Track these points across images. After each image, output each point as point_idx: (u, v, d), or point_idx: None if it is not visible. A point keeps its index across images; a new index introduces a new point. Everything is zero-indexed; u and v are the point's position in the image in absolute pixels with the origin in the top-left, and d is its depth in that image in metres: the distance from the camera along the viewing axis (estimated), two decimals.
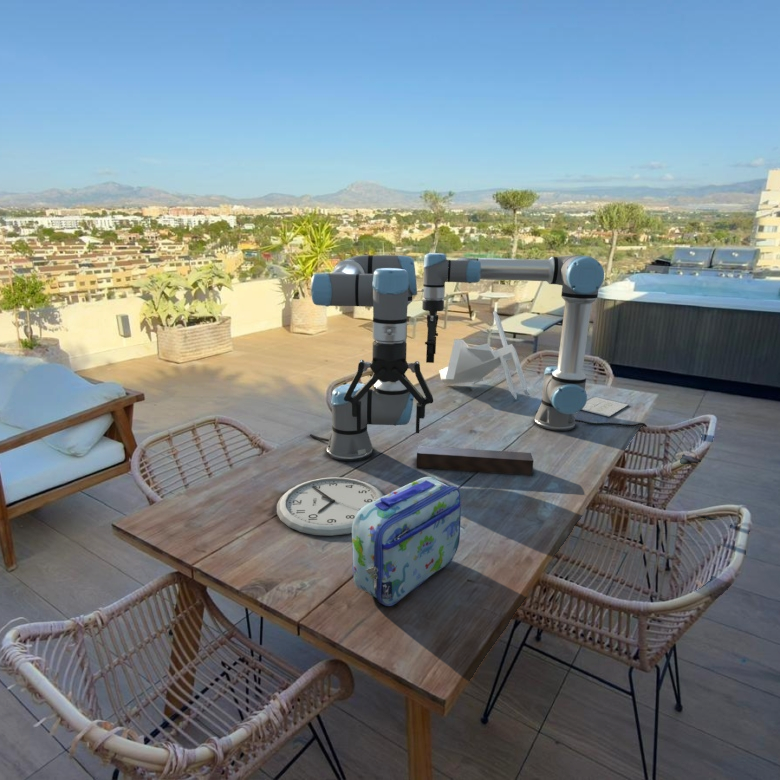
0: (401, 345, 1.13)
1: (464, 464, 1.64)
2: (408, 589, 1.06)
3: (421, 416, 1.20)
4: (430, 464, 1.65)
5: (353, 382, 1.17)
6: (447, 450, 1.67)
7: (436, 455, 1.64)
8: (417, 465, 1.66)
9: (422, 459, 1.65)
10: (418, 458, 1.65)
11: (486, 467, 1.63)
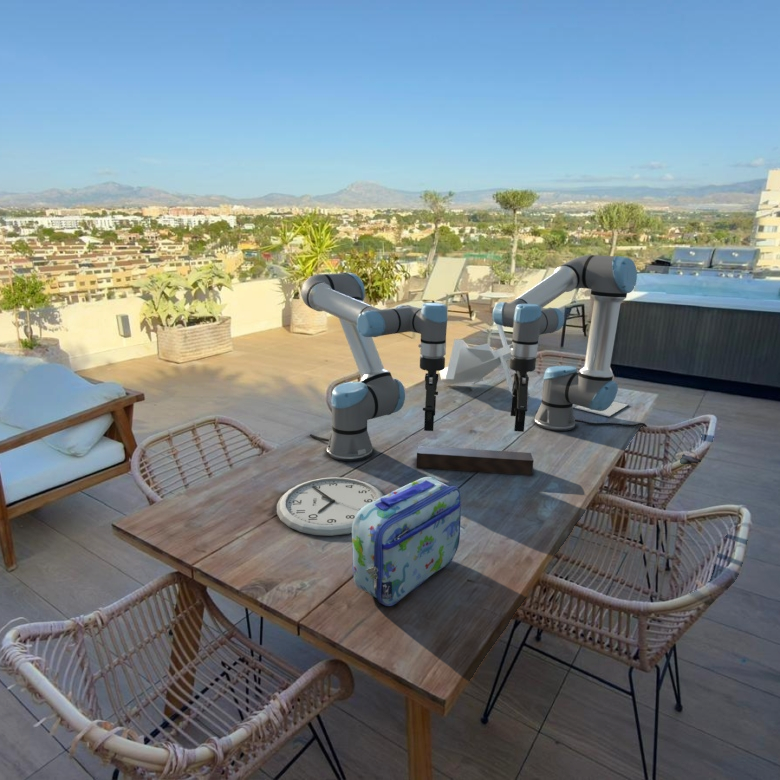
0: (423, 359, 1.54)
1: (464, 464, 1.64)
2: (408, 589, 1.06)
3: (426, 419, 1.54)
4: (430, 464, 1.65)
5: None
6: (447, 450, 1.67)
7: (436, 455, 1.64)
8: (417, 465, 1.66)
9: (422, 459, 1.65)
10: (418, 458, 1.65)
11: (486, 467, 1.63)
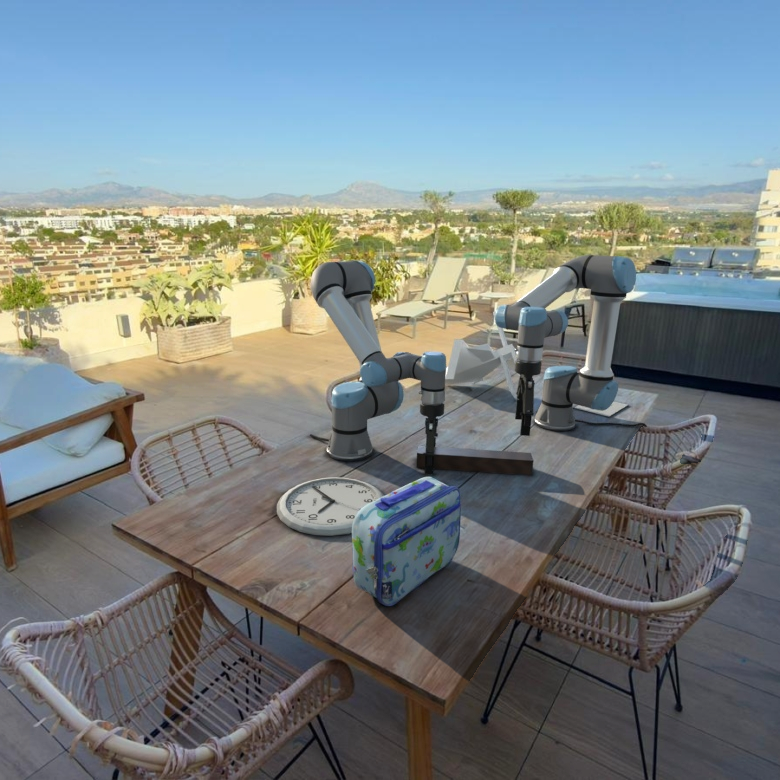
0: (423, 405, 1.60)
1: (464, 464, 1.64)
2: (408, 589, 1.06)
3: (427, 463, 1.60)
4: None
5: None
6: (447, 450, 1.67)
7: (436, 455, 1.64)
8: (417, 465, 1.66)
9: (422, 459, 1.65)
10: (418, 458, 1.65)
11: (486, 467, 1.63)
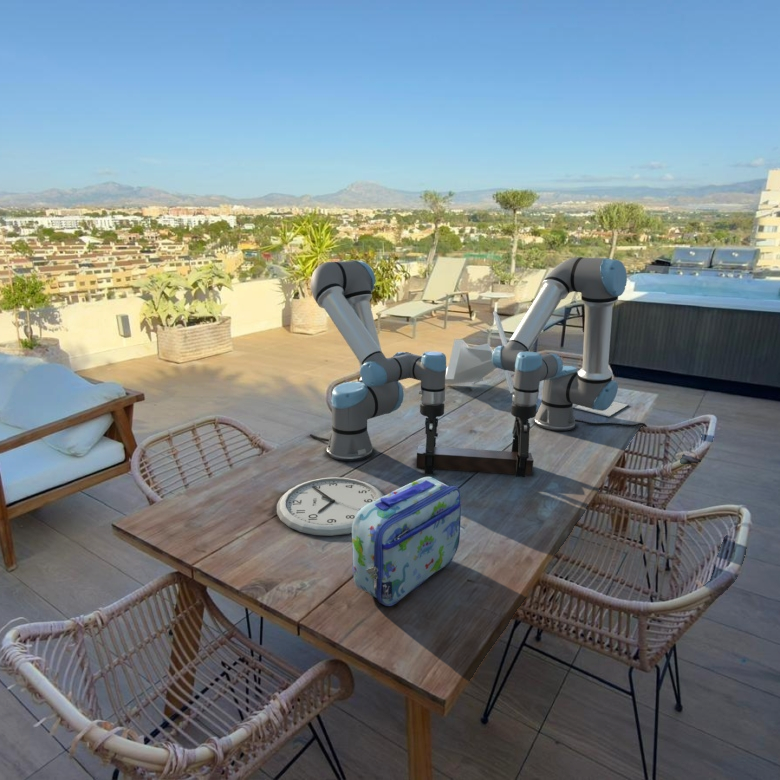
0: (424, 405, 1.60)
1: (464, 464, 1.64)
2: (408, 589, 1.06)
3: (427, 463, 1.60)
4: None
5: None
6: (447, 450, 1.67)
7: (436, 455, 1.64)
8: (417, 465, 1.66)
9: (422, 459, 1.65)
10: (418, 458, 1.65)
11: (486, 467, 1.63)
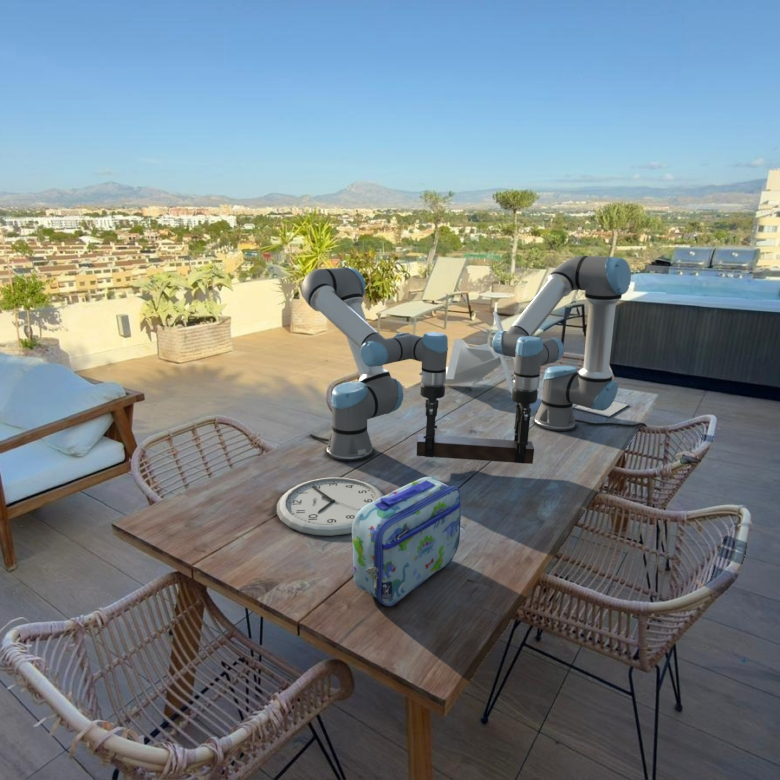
0: (424, 387, 1.58)
1: (465, 453, 1.63)
2: (408, 589, 1.06)
3: (427, 446, 1.63)
4: None
5: None
6: (447, 438, 1.66)
7: (436, 444, 1.63)
8: (417, 453, 1.65)
9: (422, 448, 1.64)
10: (418, 446, 1.64)
11: (486, 456, 1.62)
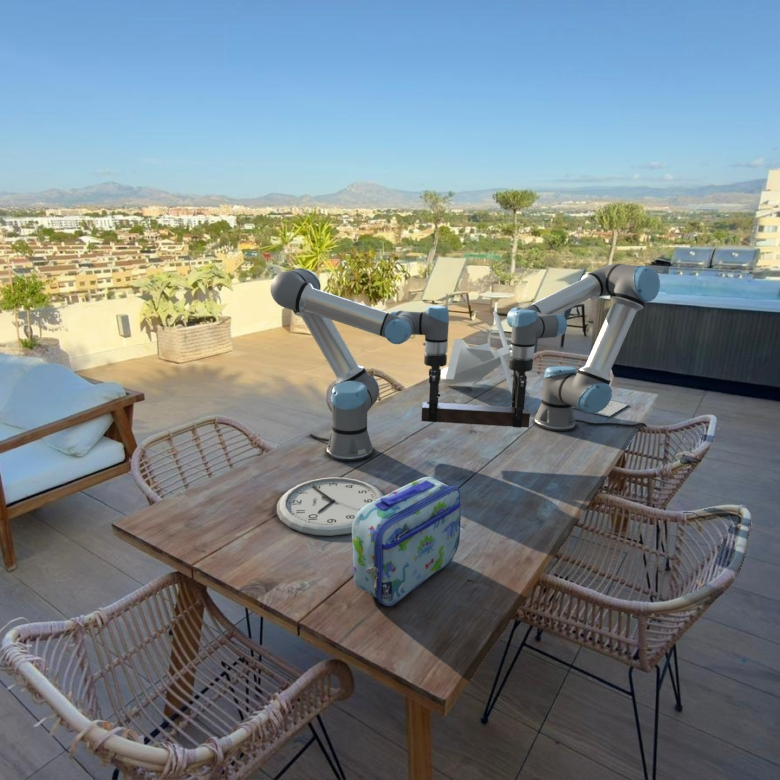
0: (427, 356, 1.72)
1: (466, 418, 1.77)
2: (408, 589, 1.06)
3: (430, 411, 1.76)
4: None
5: None
6: (450, 405, 1.80)
7: (440, 409, 1.77)
8: (422, 419, 1.78)
9: (427, 413, 1.78)
10: (423, 412, 1.78)
11: (486, 420, 1.76)
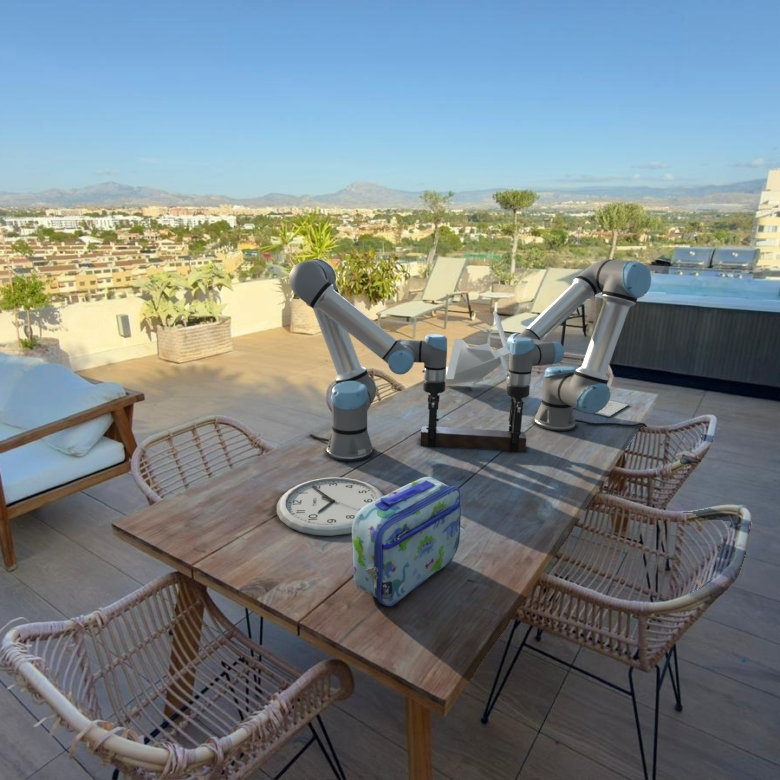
0: (426, 383, 1.77)
1: (464, 442, 1.81)
2: (408, 589, 1.06)
3: (429, 436, 1.81)
4: None
5: None
6: (448, 429, 1.84)
7: (438, 434, 1.81)
8: (421, 443, 1.83)
9: (425, 438, 1.82)
10: (422, 436, 1.82)
11: (483, 445, 1.80)
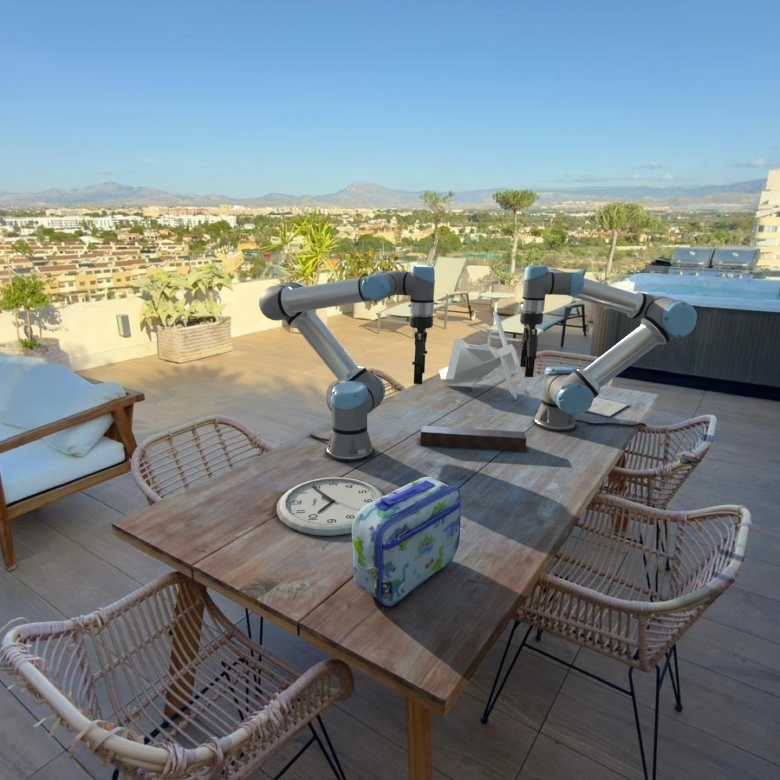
0: (413, 317, 1.67)
1: (464, 442, 1.81)
2: (408, 589, 1.06)
3: (416, 372, 1.67)
4: (433, 442, 1.82)
5: None
6: (448, 429, 1.84)
7: (438, 434, 1.81)
8: (421, 443, 1.83)
9: (425, 438, 1.82)
10: (422, 436, 1.82)
11: (483, 445, 1.80)
